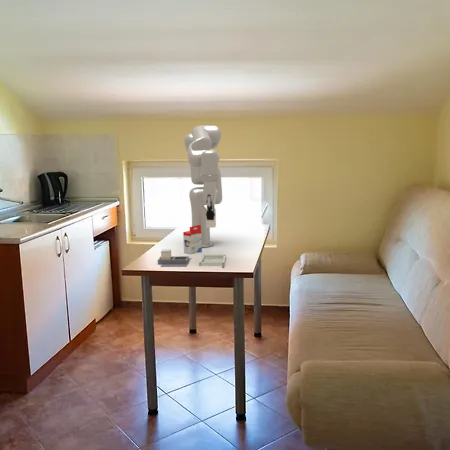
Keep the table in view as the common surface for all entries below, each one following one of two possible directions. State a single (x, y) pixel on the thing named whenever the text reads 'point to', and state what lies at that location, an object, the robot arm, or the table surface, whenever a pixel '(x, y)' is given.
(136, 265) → the table surface
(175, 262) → the block
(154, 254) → the table surface
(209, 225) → the grey rectangular block
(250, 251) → the table surface
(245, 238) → the table surface
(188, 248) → the ink box
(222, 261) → the parts tray
